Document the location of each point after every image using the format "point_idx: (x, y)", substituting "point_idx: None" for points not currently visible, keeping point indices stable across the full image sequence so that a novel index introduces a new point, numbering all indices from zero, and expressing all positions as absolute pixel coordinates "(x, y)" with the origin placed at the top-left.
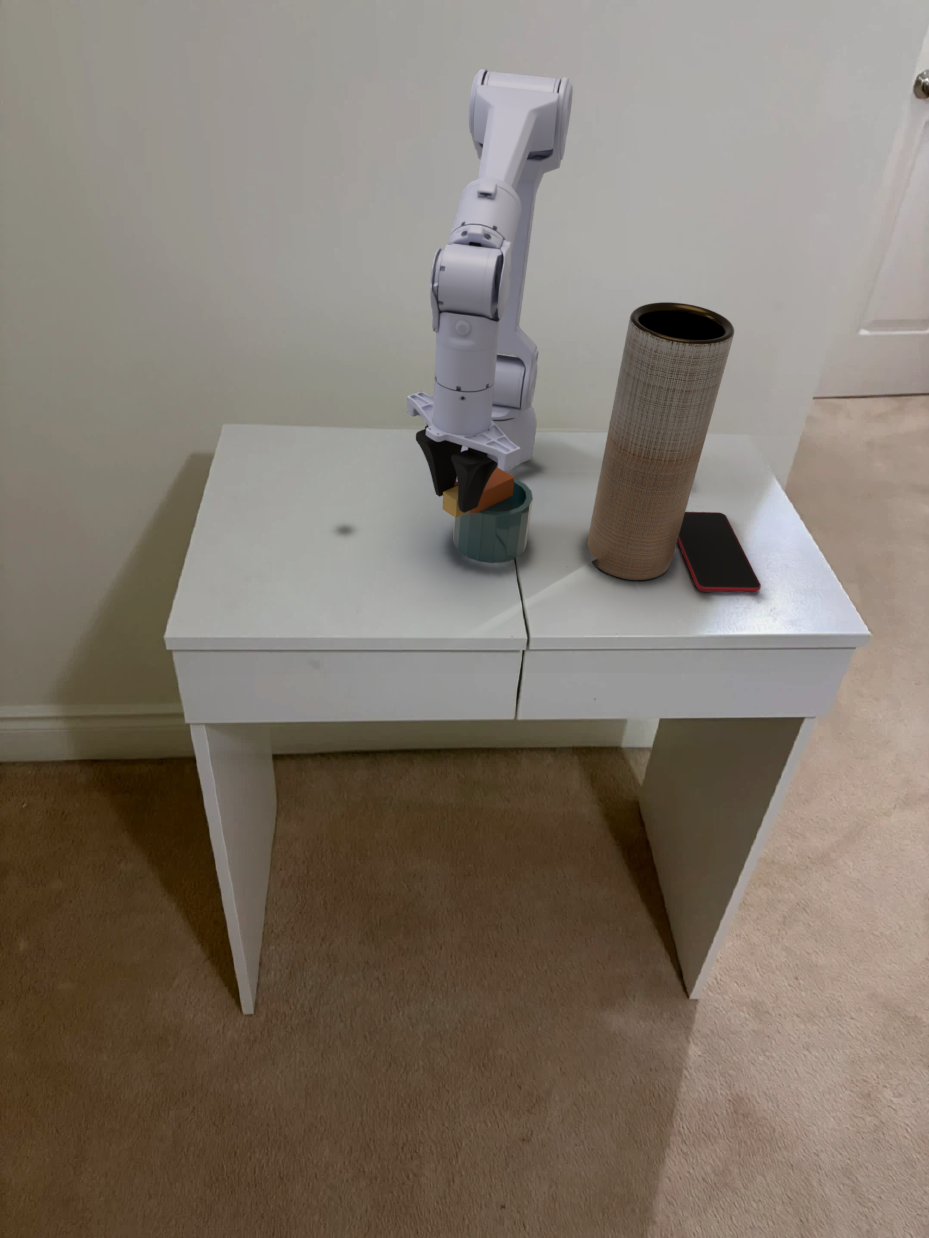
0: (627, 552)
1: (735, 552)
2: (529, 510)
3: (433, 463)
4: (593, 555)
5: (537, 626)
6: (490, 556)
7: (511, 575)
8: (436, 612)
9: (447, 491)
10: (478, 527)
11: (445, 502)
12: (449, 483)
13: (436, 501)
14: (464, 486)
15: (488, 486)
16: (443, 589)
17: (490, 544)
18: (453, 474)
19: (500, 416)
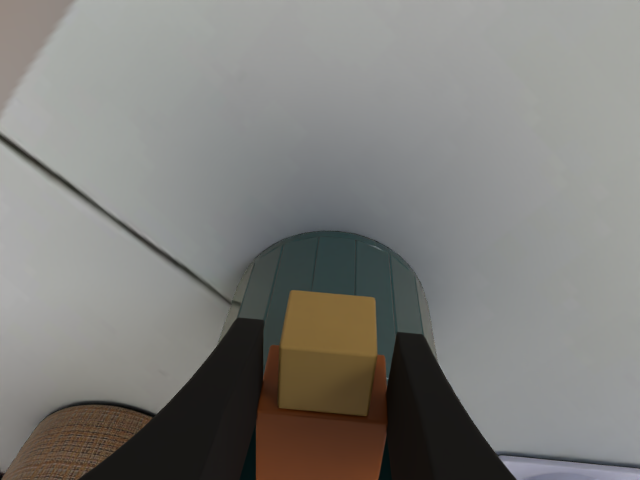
0: (24, 469)
1: None
2: None
3: (439, 467)
4: (129, 426)
5: (13, 175)
6: (254, 279)
7: (213, 274)
8: (211, 6)
9: (364, 368)
10: (274, 322)
11: (357, 322)
12: (392, 409)
13: (573, 363)
14: (158, 421)
15: (271, 476)
16: (283, 106)
17: (248, 303)
18: (394, 458)
19: None
